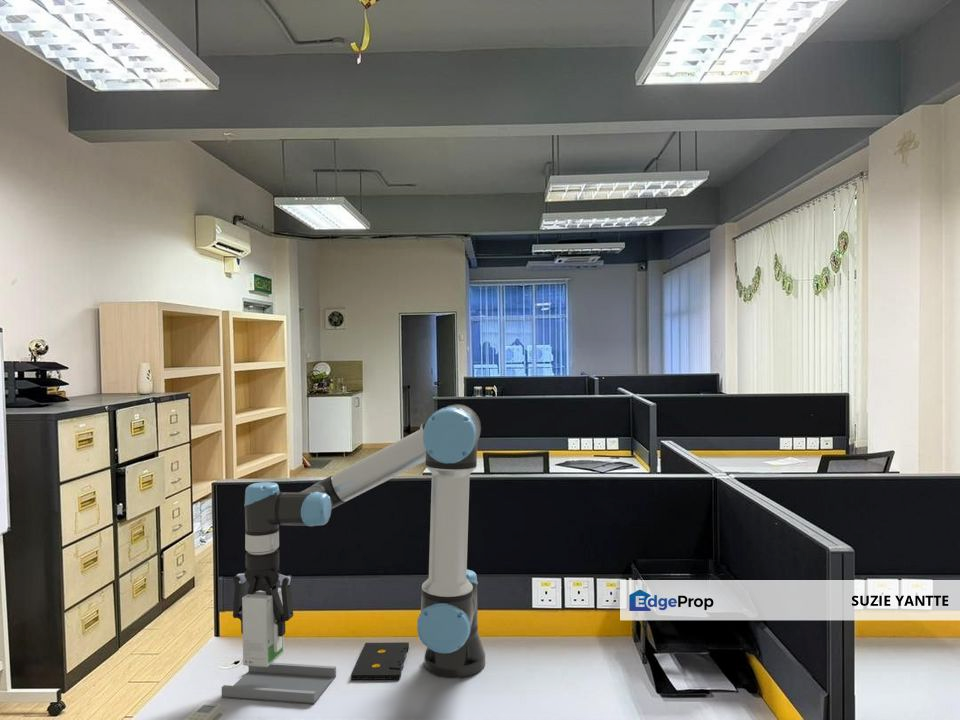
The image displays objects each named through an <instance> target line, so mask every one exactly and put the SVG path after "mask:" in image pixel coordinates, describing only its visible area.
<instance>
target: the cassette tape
mask: <svg viewBox="0 0 960 720" xmlns="http://www.w3.org/2000/svg"><path fill="white" fill-rule="evenodd" d="M408 649H410V643H409V642H407V641H406V642H403V641H402V642H365V643H364V645H363V647H362V650H361V652H360V654H359V656H358V658H357V661H356V663H355V665H354V667H353V670H352V671H351V673H350V674H351V675H350V682H351V681H352V682H356V681H357V682H373V681H374V682H376V681H377V682H383V681H386V682H388V681H389V682H390V681H393V682H394V681H396V682H397V681H400V680H401V677H402V670H403V669H404V666H405V665H404V664H405V662H404V661H406V659H407V652H408ZM404 659H405V660H404Z"/></svg>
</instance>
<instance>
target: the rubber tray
mask: <svg viewBox="0 0 960 720" xmlns="http://www.w3.org/2000/svg"><path fill="white" fill-rule="evenodd" d="M336 677H337V666H335V665H333V666H332V665H316V664H302V663H287V662H286V663H285V662H273V663H271V664H270V665H269V666H268V667H256V666H248V671H247V672H246V673H245V674H244V675H243V676H241V678H240V679H239V680H237V681H236V682H235V683H234V684H233V685H229V684H227V685H226V684H223V685H222V686H221V699H232V700H233V699H234V700H245V701H246V700H247V701H257V702H259V701H260V702H261V701H262V702H272V703H273V702H275V703H288V704H300V705H301V704H303V705H313V706H314V705H315V704H316V703H317V701H318V700H319V699H320V698H321V696H322V695H323V694H324V692H326V690H327V689H328V688H329V686H330V685H331V684H332V683H333V681H334V680H335V679H336Z"/></svg>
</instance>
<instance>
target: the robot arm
mask: <svg viewBox="0 0 960 720" xmlns="http://www.w3.org/2000/svg"><path fill="white" fill-rule="evenodd" d="M481 431H482V426H481V420H480V418H479V416H478V415H477V413H476V412H475V411H474V410H473V409H472V408H470V407H468V406H467V405H464V404H458V403H457V404H456V403H455V404H450V405H447V406H446V407H442V408H440V409H438V410H436V411H434V412H433V414H431V415H430V417H429V418H428V419H427V420H426V421H425V422H423V423H421V425H420V427H419V429H418V430H416V431H415V432H413V433H412V432H411V434H408V435H407V436H404V437H403V438H401V439H399V440H397V441H395V442H393V443H391V444H390V445H386V446H385V447H384V448H382V449H380V450H378V451H376V452H374V453H372V454H369V456H366V457H364V458H363V459H360V460H359V461H356V462H354V463H353V464H351V465H349V466H347V467H345V468H343V469H341V470H340V471H338V472H335V473H333V474H332V475H330V476H328V477H326V478H323V479H321V480H318V481H317V482H315V483H314V484H313V485H311V486H310V487H307V488H306V489H304V490H302V491H299V492H286V491H285V492H283V491H280V487H279V486H280V485H279V484H278V483H276V482H272V481H262V482H255V483H251V484H249V485H248V486H247V487H246V488H245V493H244V505H243V506H244V516H245V517H244V518H245V519H244V521H245V530H244V532H245V535H244V536H245V537H244V538H245V540H244V542H245V543H244V545H245V546H244V548H245V549H244V550H245V551H246V552H245V568H246V570H245V572H244V573H242V572H240V573H239V572H238V574H236V575H233V579H232V580H233V584H234V594H233V608H232V617H233V618H234V619H238V620H240V628H241V629H240V633H241V635H243V613H242V597H244V596H245V589H246V581H247V582H248V585H249V586H248V589H247V594H251V595H252V594H254V593H255V592H257V591H260V590H261V591H266V594H267V595H272V597H273V612H274V615H275V618H276V622H275V623H274V652H278V651H279V650H280V649H281V648H282V636H283V637H284V636H285V634H286V622H289V620H291V619H292V618H293V617H294V607H293V605H294V604H293V598H292V597H293V596H292V586H291V585H292V581H293V576H292V575H291V574H288V575H284V574H282V572H281V570H280V550H279V547H280V526H297V527H298V526H303V527H305V526H307V527H315V526H324V525H326V524H328V522H329V520H330V518H331V514H332V510H333V509H334V508H337V507H338V506H340V505H342V504H345V503H346V502H348V501H350V500H352V499H354V498H356V497H357V496H360V495H362V494H363V493H367V491H369V490H371V489H374V488H375V487H377V486H380V485H381V484H384V483H386V482H387V481H389V480H391V479H392V478H393V479H394V478H395V477H397V476H399V475H401V474H403V473H405V472H407V471H409V470H411V469H413V468H414V467H417V466H419V465H420V464H423V463H425V468H426V469H427V470H428V471H429V472H430V473H431V490H430V491H431V493H430V501H431V502H430V522H429V523H430V524H429V525H430V527H429V528H430V529H429V530H430V531H429V553H428V554H429V556H428V558H429V559H428V560H429V561H428V578H427V579H426V580H424V581H423V583H422V584H421V597H420V598H421V600H420V614H419V615H418V617H417V622H416V623H417V625H416V629H417V635H418V637H419V639H420V642H421V643H422V644H423V645H424V646H426V649H425V651H424V658H423V659H424V661H423V662H424V663H423V664H424V668H425V670H426V671H427V672H429V673H430V674H431V675H435V676H436V677H439V678H440V677H442V678H449V679H454V678H456V679H457V678H465V677H469V676H473V675H475V674H476V673H480V672H481V671H482V670H483V669H484V668H485V666H486V652H485V649H484V646H483V643H482V640H481V637H480V634H479V626H478V625H479V624H478V623H479V619H478V617H479V616H478V615H479V613H478V584H479V582H478V579H477V578H478V577H477V573H476V572H475V571H473V570H472V569H471V570H470V569H468V541H469V539H468V537H469V535H468V533H469V508H470V507H469V504H470V503H469V502H470V478H471V477H470V475H471V474H472V472H473V471H475V470H476V469H477V467H478V466H477V465H478V464H477V463H478V458H477V457H478V441H479V440H480V436H481ZM278 581H279V585H280V588H281V594H282V602H281V599H280V596H279V593H278V588H279V587H278V584H277V583H278ZM282 604H283V605H282Z"/></svg>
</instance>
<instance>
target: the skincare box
mask: <svg viewBox="0 0 960 720" xmlns="http://www.w3.org/2000/svg"><path fill="white" fill-rule="evenodd" d="M278 593H279V596H280V599H281V602H282V594H281V587H278ZM282 605H283V604H282ZM242 613H243V634H242V666H247V667H249V666H256V667H268V666H269V665H270V664H271V663H275V661H276V660H277V659H278V658H279V657H281V656H282V655H283V654H284V653H285V651H284V650H285V649H284V646H285V645H284V635H283V636H282V648H281V649H280V650H279V651H278V652H274V623H275V622H276V618H275V615H274V612H273V597H272V595H267V594H266V591H261V590H260V591H257V592H255V593H254V594H252V595H251V594H248V593H247V594H246V595H244V597H242Z"/></svg>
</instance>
